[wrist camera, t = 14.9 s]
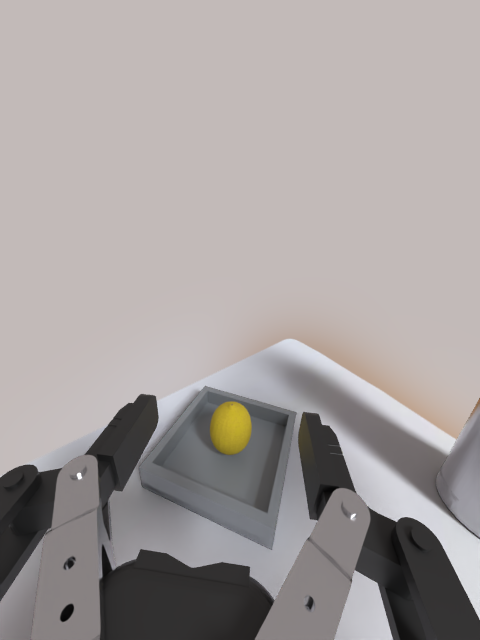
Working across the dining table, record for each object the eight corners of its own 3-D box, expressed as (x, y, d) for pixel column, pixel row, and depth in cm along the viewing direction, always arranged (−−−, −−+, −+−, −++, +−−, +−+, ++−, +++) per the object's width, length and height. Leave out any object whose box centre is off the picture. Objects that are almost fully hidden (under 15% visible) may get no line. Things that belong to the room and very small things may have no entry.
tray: (293, 429, 37) (296, 412, 35) (271, 549, 23) (275, 529, 21) (205, 401, 42) (205, 385, 40) (142, 487, 27) (138, 467, 26)
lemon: (216, 429, 35) (218, 386, 32) (252, 437, 34) (257, 394, 31) (203, 462, 30) (203, 415, 27) (244, 473, 29) (249, 426, 26)
